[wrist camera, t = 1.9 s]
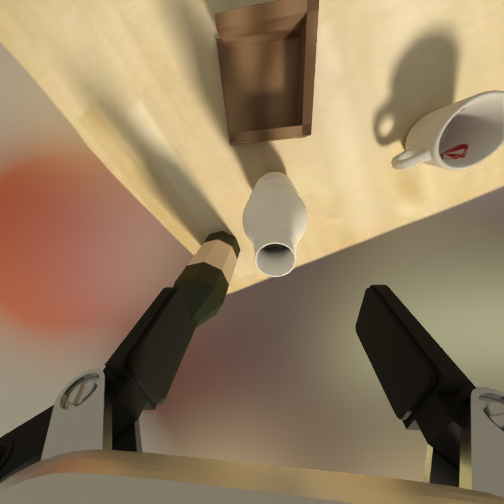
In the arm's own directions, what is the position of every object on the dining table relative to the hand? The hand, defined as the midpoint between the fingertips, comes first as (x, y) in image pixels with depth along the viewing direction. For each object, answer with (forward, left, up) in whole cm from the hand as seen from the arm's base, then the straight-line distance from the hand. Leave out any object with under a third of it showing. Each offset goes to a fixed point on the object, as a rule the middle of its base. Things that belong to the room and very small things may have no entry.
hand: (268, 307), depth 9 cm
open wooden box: (-5, -13, -29) cm, 33 cm away
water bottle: (0, 0, -29) cm, 29 cm away
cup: (-23, +4, -29) cm, 38 cm away
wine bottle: (+16, +6, -29) cm, 34 cm away
